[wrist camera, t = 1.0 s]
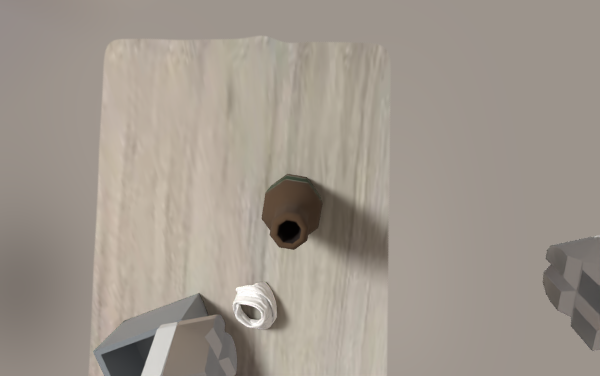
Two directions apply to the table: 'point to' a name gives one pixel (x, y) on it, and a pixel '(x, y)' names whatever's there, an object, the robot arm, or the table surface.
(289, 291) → the table surface
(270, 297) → the white crumpled ring
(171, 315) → the tote
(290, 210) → the beer bottle
